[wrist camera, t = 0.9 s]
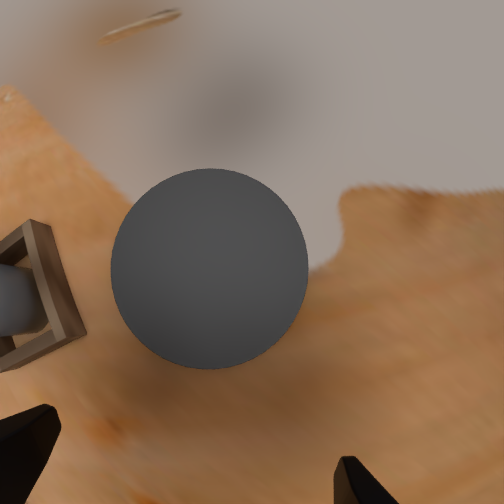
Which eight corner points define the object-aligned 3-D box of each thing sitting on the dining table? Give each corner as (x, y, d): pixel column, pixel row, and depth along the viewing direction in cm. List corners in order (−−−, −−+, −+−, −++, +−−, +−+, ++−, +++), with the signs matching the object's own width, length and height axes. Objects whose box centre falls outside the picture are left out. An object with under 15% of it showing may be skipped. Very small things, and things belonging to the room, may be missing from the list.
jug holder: (86, 333, 22) (66, 337, 19) (16, 368, 22) (-5, 373, 19) (50, 226, 24) (29, 218, 21) (-13, 273, 23) (-34, 270, 20)
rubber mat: (238, 402, 21) (237, 406, 20) (85, 295, 23) (80, 295, 22) (342, 234, 23) (345, 232, 22) (181, 143, 24) (178, 138, 23)
